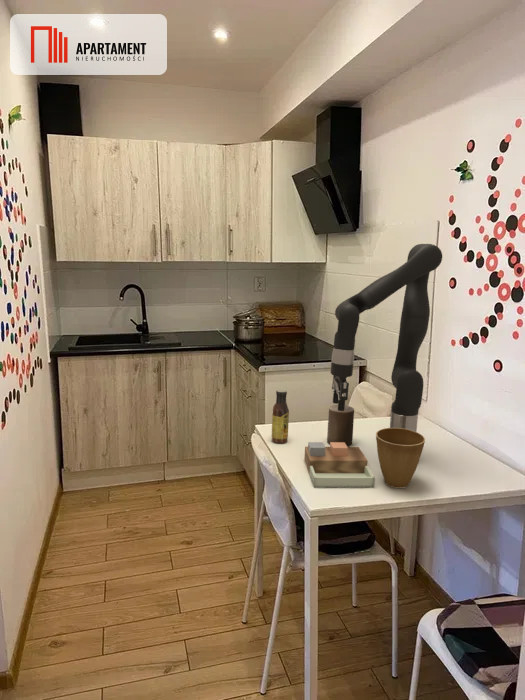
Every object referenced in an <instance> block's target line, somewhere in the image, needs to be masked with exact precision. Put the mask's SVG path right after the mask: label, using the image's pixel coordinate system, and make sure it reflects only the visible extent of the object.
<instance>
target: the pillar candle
mask: <svg viewBox="0 0 525 700" xmlns="http://www.w3.org/2000/svg"><path fill="white" fill-rule="evenodd" d="M354 418H355V408H354V407H352V406H350V405H346V404H345V408H344V411H338V404H333V405H331V406H329V407H328V420H327V438H326V441H327V444H328V445H330V442H345V444H346V446H347V447H352V445H353V440H354V439H353V437H354V421H355V419H354Z"/></svg>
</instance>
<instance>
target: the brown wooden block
mask: <svg viewBox="0 0 525 700" xmlns="http://www.w3.org/2000/svg"><path fill="white" fill-rule="evenodd" d="M347 447H348V453H347V456H332V454H331V452H330V446H325V456H310V455H309V452H308V446H304V459H303V461H304V463H305V466H306V469H307V472H308V474H310V466H313V469H314V471H315V473H364V472H365V466H368V458H366V456H365V454H364V453H363V451H362V450H361V448H360V447H359V446H347Z"/></svg>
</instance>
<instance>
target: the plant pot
mask: <svg viewBox="0 0 525 700" xmlns="http://www.w3.org/2000/svg"><path fill="white" fill-rule="evenodd" d="M375 441H376V449H377V455H378V456H377V457H378V461H379V466H380V470H381V474H382V478H383V480H384V483H385V485H387V486H389V487H391V488H397V489H404V488H407V487H408V486H409V485H410V482H411V481H412V480H413V477H414V475H415V473H416V470H417V468H418V465H419V463H420V460H421V456H422V453H423V450H424V446H425V443H426V438H425V436H424V435H422V434H421V433H419V432H418V431H417V432H415V431H412V430H409V429H403V428H390V427H386V428H385V427H384V428H382V429H379V430H378V431H376V432H375Z"/></svg>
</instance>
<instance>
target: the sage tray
mask: <svg viewBox="0 0 525 700" xmlns="http://www.w3.org/2000/svg"><path fill="white" fill-rule="evenodd" d="M308 474H309V473H308ZM309 478H310V481H311V483H312V487H313V488H324V489H325V488H331V489H332V488H339V487H340V488H339V489H341V488H342V487H343V488H345V489H346V488H351V489H352V488H360V489H361V488H366V489H367V488H371V489H372V488H375V484H376V482H375V481H376V478H375V476H374V475H373V472H372V471H371V469H370V468H369V466H368V465H367V466H365V472H364V473H315V471H314V469H313V466H310V474H309Z"/></svg>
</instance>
